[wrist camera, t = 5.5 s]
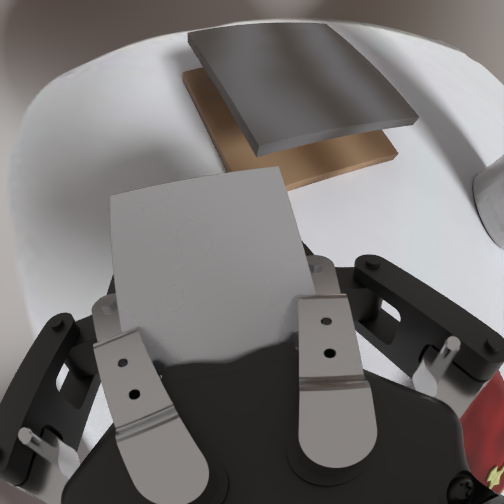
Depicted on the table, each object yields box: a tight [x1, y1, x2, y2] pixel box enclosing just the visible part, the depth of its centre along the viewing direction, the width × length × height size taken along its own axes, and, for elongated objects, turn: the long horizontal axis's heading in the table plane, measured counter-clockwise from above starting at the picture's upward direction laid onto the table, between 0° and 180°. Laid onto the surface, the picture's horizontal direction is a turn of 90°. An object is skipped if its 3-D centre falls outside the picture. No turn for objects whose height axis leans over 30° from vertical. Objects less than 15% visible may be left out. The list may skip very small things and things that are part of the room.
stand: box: [183, 23, 419, 191], centre depth 18 cm, size 14×14×6 cm
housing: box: [110, 166, 316, 376], centre depth 11 cm, size 6×7×9 cm
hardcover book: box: [459, 370, 504, 494], centre depth 12 cm, size 12×21×4 cm, turn 43°
